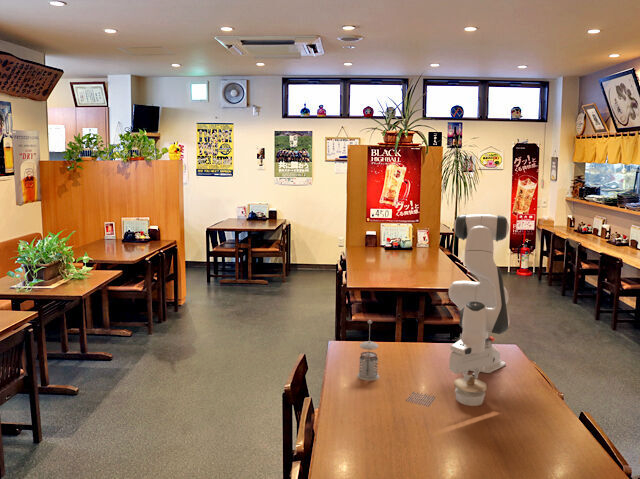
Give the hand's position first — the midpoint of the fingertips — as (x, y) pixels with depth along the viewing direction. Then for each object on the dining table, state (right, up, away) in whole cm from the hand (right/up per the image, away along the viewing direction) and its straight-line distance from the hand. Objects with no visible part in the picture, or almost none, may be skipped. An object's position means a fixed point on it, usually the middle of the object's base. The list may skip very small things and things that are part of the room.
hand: (470, 379), depth 215 cm
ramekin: (0, -10, +2) cm, 10 cm away
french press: (-37, -5, +25) cm, 45 cm away
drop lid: (0, -3, 0) cm, 3 cm away
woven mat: (-19, -10, +2) cm, 22 cm away
